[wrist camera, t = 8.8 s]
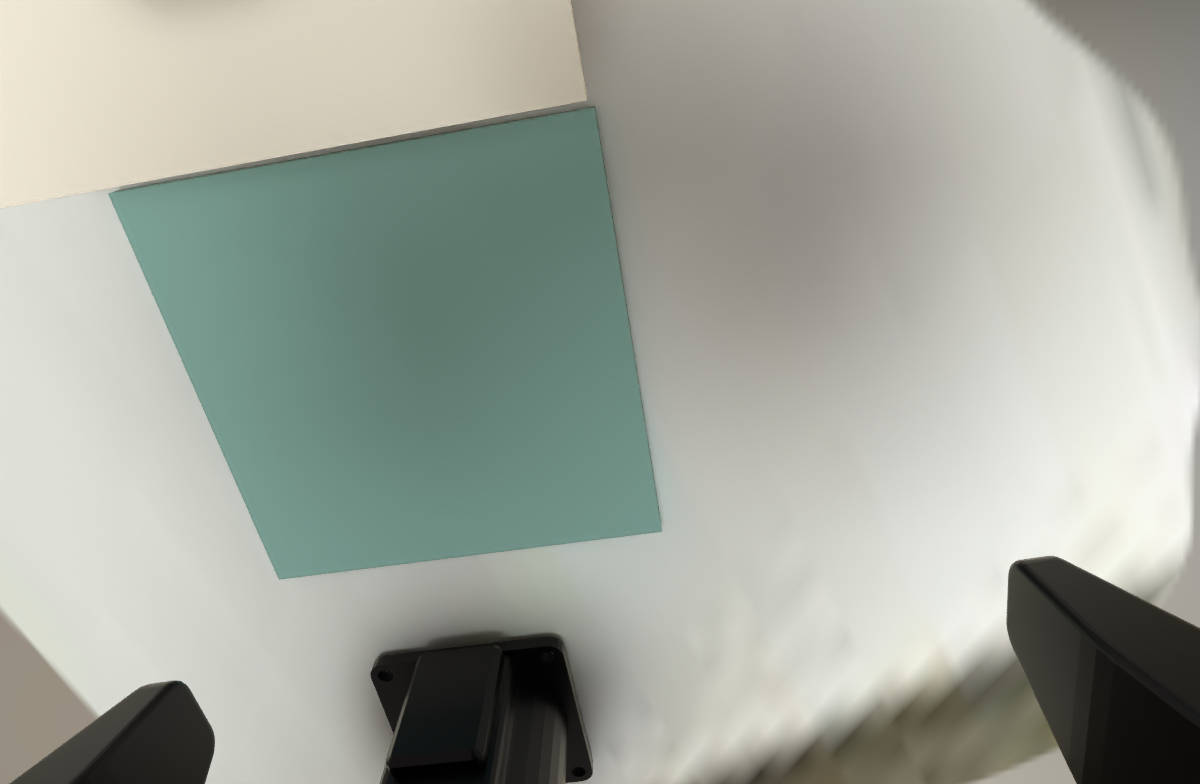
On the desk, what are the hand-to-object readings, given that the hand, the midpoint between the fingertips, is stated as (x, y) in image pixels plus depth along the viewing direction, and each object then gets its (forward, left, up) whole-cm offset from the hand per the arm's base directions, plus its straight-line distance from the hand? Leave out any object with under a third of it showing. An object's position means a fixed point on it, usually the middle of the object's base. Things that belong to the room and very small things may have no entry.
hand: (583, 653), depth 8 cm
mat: (-2, +5, -13) cm, 14 cm away
